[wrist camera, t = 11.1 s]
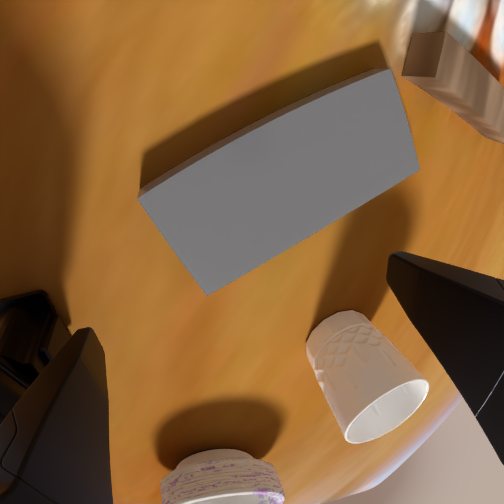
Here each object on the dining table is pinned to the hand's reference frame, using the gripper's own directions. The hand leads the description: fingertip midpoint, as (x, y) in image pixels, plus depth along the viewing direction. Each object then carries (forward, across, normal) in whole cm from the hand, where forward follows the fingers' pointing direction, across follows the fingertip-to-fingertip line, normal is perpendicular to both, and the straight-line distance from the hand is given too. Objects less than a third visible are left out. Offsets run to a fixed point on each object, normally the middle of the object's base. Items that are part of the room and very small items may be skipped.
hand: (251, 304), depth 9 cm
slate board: (+13, -6, 0) cm, 14 cm away
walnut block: (+11, -17, -8) cm, 22 cm away
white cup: (+13, -10, +17) cm, 24 cm away
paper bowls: (+13, +6, +36) cm, 39 cm away
